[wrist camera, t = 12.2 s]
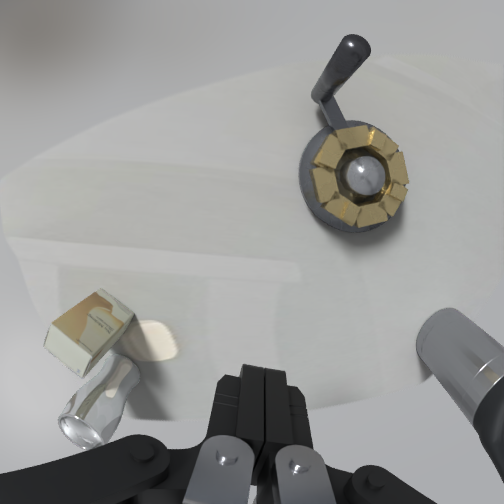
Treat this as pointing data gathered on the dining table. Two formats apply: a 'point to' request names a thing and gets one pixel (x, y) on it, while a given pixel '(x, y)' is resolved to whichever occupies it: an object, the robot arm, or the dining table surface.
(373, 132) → the lever crank
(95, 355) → the skincare box
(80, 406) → the beer glass
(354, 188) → the flange
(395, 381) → the dining table surface
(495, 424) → the robot arm
